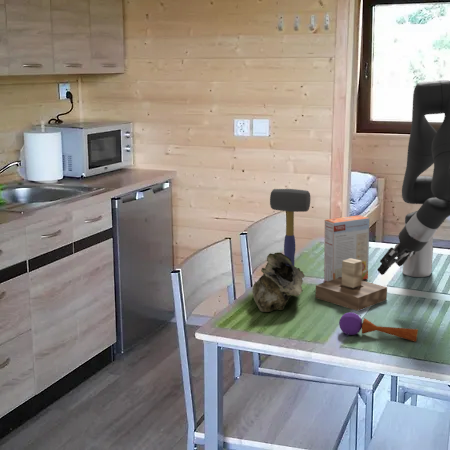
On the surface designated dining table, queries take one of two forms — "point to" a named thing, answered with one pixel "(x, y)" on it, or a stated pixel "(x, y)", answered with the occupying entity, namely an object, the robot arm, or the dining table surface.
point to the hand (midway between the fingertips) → (389, 268)
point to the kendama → (372, 327)
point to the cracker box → (345, 244)
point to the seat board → (351, 294)
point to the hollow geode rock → (277, 283)
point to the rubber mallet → (290, 213)
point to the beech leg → (351, 274)
